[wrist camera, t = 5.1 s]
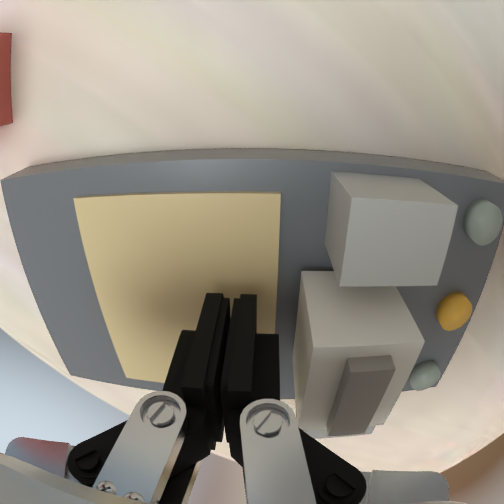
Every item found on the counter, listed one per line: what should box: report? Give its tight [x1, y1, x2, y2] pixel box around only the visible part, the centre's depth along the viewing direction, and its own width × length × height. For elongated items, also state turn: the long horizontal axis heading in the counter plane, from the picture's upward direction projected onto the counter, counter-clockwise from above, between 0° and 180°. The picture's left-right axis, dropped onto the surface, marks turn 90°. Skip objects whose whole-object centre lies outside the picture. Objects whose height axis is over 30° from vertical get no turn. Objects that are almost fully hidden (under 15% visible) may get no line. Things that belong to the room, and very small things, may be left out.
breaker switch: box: [293, 271, 425, 437], centre depth 9 cm, size 3×4×4 cm
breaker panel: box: [1, 148, 504, 439], centre depth 11 cm, size 20×11×4 cm, turn 90°
